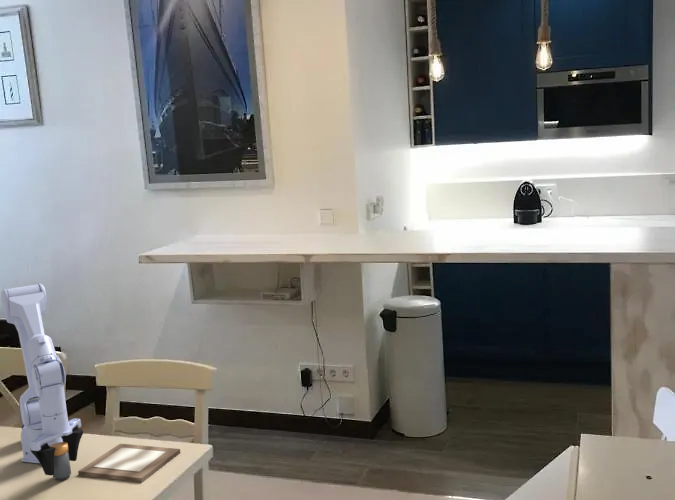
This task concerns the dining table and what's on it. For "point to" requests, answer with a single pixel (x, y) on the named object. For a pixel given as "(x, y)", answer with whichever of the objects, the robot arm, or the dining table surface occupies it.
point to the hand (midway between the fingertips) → (61, 467)
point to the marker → (61, 461)
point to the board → (129, 462)
